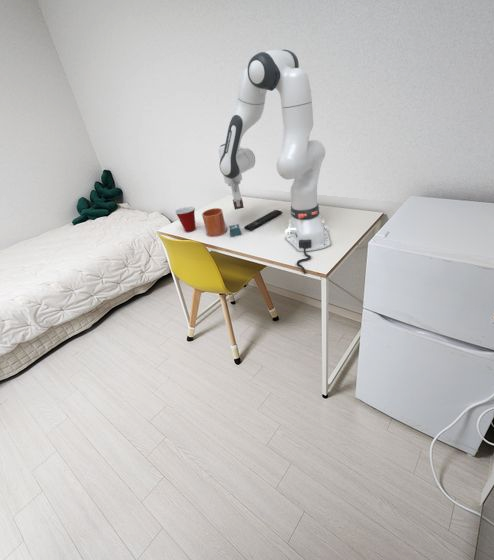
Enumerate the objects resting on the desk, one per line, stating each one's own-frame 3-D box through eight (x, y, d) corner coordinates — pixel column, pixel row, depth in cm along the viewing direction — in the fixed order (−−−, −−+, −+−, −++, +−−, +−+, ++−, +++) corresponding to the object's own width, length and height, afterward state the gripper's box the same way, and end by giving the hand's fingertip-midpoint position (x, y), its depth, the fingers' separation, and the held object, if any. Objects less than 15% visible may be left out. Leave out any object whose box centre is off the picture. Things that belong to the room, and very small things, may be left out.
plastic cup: (203, 225, 172) (197, 204, 165) (195, 233, 163) (189, 212, 157) (185, 225, 175) (179, 205, 169) (177, 234, 167) (171, 213, 160)
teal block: (240, 235, 153) (239, 227, 151) (231, 237, 153) (229, 229, 151) (239, 231, 157) (238, 223, 155) (230, 233, 157) (229, 225, 155)
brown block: (243, 207, 159) (242, 200, 156) (234, 209, 159) (233, 202, 156) (243, 204, 163) (241, 197, 160) (234, 206, 163) (232, 199, 161)
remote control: (244, 229, 158) (244, 226, 157) (275, 211, 170) (275, 209, 169) (251, 231, 154) (251, 228, 154) (282, 213, 167) (282, 211, 166)
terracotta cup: (226, 234, 157) (222, 213, 151) (207, 238, 157) (201, 217, 151) (226, 226, 165) (221, 206, 159) (207, 230, 165) (202, 210, 159)
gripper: (240, 181, 144) (246, 209, 151) (237, 171, 161) (242, 197, 168) (227, 184, 144) (233, 212, 151) (225, 174, 161) (231, 199, 168)
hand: (238, 204), depth 160 cm, fingers closed on brown block, 5 cm apart
